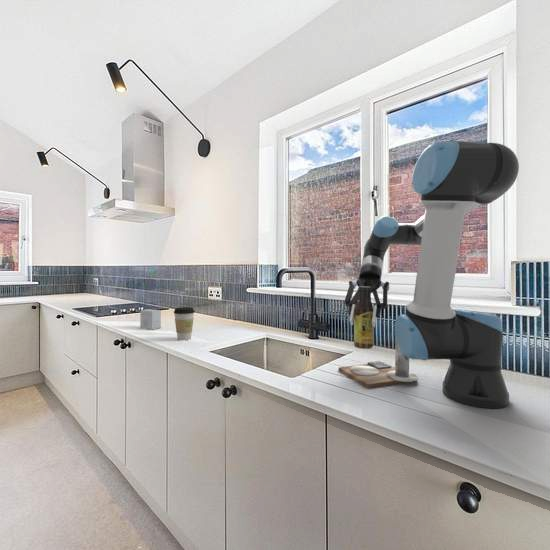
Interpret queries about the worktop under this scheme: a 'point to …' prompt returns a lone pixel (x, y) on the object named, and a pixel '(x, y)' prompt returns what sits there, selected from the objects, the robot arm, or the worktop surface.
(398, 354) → the peg
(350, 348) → the worktop surface
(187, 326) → the coffee cup
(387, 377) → the board
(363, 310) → the sauce bottle
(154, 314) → the skincare box
